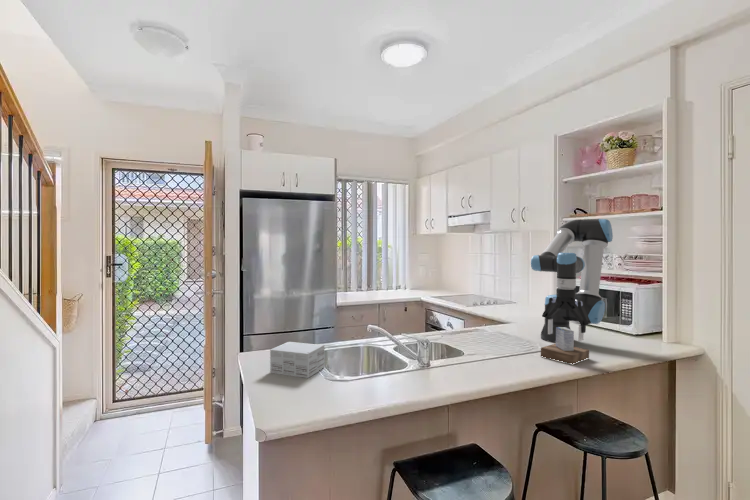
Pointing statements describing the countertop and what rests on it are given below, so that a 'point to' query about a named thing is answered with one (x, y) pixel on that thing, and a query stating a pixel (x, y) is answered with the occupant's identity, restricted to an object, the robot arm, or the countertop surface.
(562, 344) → the medicine box
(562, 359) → the walnut base block
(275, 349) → the supplement box
